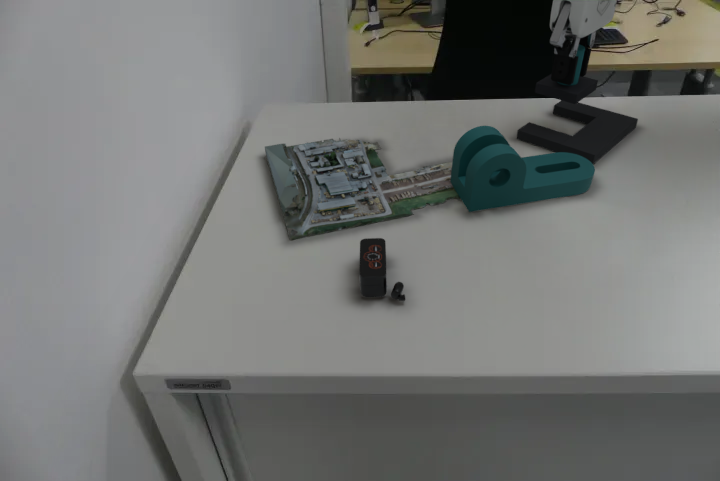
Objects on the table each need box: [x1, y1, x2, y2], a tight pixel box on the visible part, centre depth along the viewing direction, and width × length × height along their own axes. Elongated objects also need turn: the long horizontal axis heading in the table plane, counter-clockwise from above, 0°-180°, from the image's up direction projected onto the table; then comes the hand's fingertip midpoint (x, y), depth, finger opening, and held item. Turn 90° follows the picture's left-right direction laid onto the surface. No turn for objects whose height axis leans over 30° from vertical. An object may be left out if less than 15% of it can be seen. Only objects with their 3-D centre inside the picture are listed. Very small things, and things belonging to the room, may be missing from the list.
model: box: [264, 137, 461, 241], centre depth 78 cm, size 21×30×2 cm
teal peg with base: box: [534, 44, 599, 104], centre depth 80 cm, size 6×6×6 cm
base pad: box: [516, 100, 639, 165], centre depth 84 cm, size 14×12×2 cm
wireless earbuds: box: [358, 237, 406, 302], centre depth 60 cm, size 5×7×3 cm, turn 179°
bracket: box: [450, 125, 596, 213], centre depth 71 cm, size 18×7×8 cm, turn 103°
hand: (568, 76), depth 81 cm, fingers closed on teal peg with base, 3 cm apart
